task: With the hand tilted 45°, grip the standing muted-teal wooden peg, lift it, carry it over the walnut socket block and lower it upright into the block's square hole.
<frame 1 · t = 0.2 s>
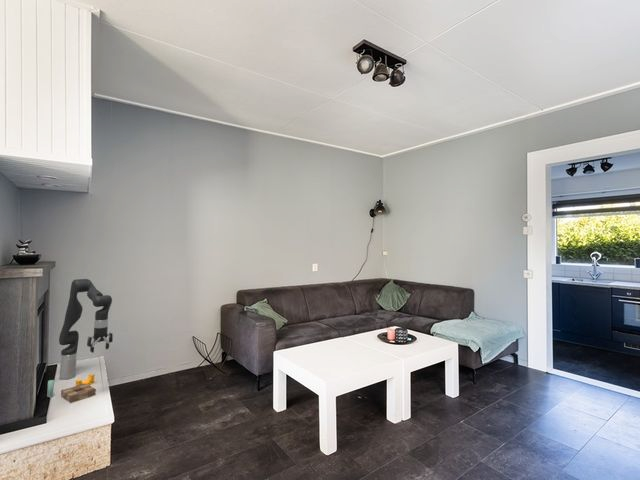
hand: (99, 350, 220), 29 cm above the table, tool pointing down, fingers open, 8 cm apart
teal peg: (50, 396, 215), on the table
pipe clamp: (83, 387, 231), on the table
walnut socket block: (78, 395, 218), on the table
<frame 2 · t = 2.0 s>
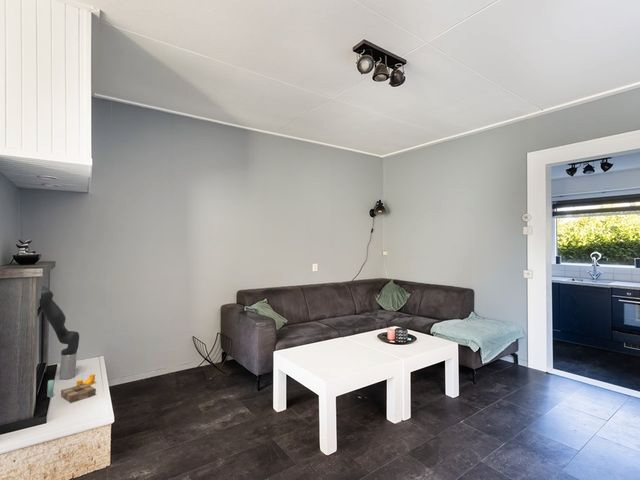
hand: (30, 362, 211), 23 cm above the table, tool tilted 45°, fingers open, 8 cm apart
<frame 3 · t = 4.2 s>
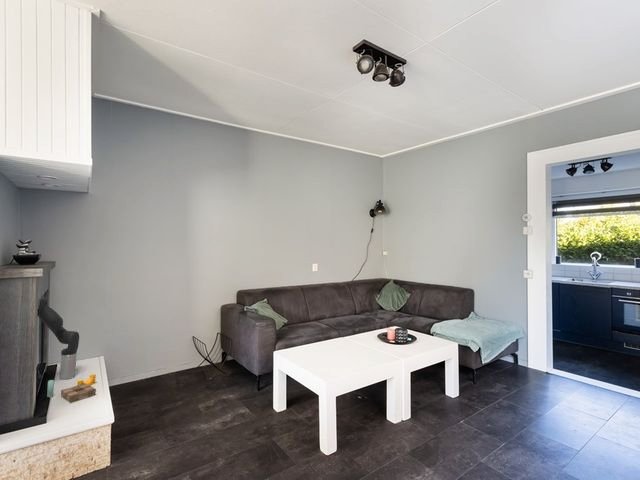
hand: (38, 380, 212), 11 cm above the table, tool tilted 45°, fingers open, 8 cm apart
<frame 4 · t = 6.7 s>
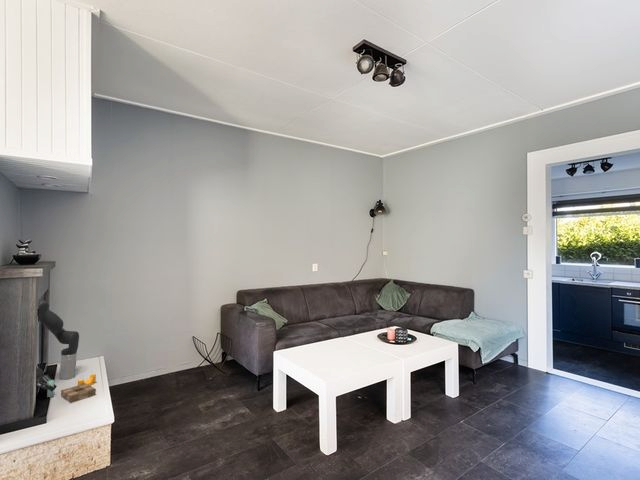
hand: (54, 389, 216), 4 cm above the table, tool tilted 45°, fingers closed on teal peg, 3 cm apart
teal peg: (50, 396, 215), on the table, touching gripper
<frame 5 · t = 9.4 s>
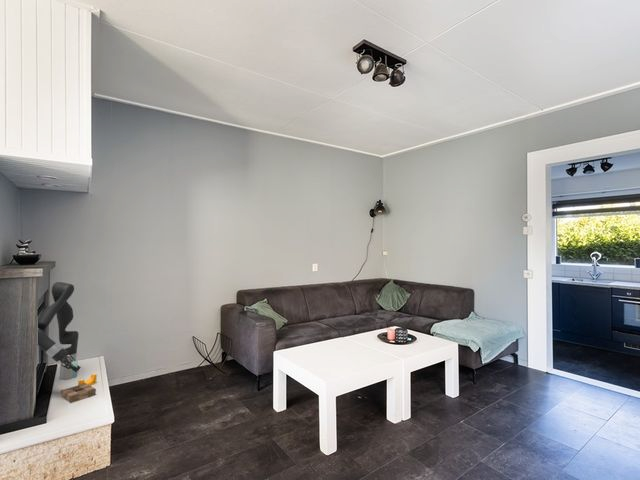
hand: (78, 369, 218), 17 cm above the table, tool tilted 45°, fingers closed on teal peg, 3 cm apart
teal peg: (74, 377, 217), point 12 cm above the table, touching gripper
when the fingers open (6 cm above the table, at t = 12.4 s): teal peg drops 2 cm, resting in walnut socket block.
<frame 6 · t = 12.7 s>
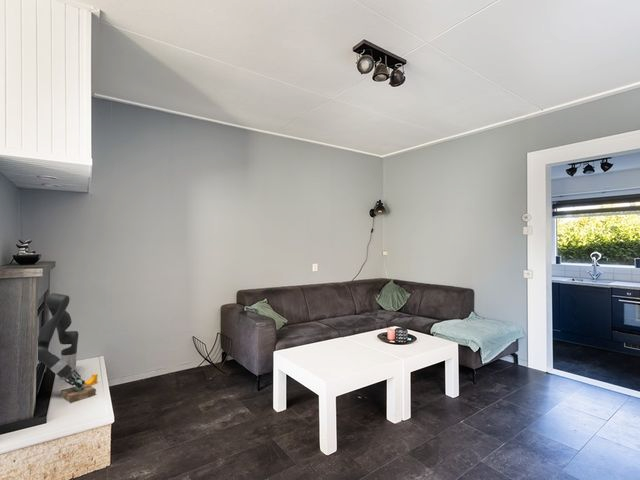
hand: (82, 385, 218), 7 cm above the table, tool tilted 45°, fingers open, 5 cm apart
teal peg: (78, 395, 218), resting in walnut socket block
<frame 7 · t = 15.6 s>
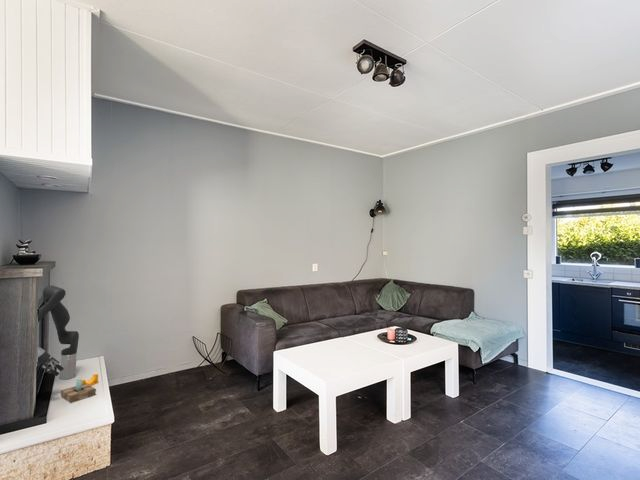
hand: (60, 372, 214), 16 cm above the table, tool tilted 45°, fingers open, 8 cm apart
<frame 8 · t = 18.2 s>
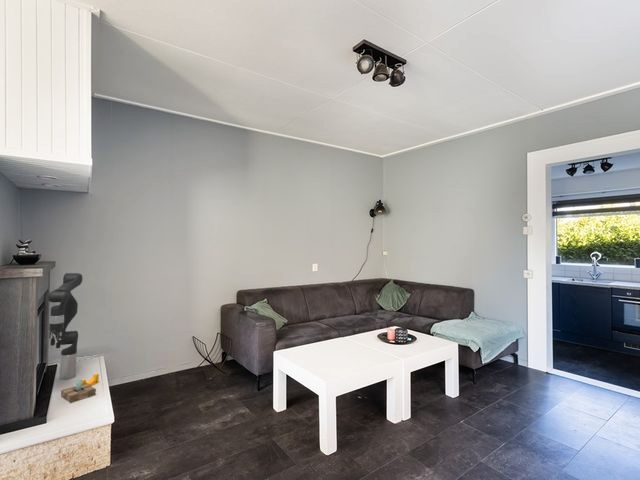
hand: (55, 346, 220), 30 cm above the table, tool pointing down, fingers open, 8 cm apart
at the end: teal peg 0.1 cm off-centre on the walnut socket block, point 0.0 cm above the walnut socket block's base; teal peg tilted 0°; the gripper is holding nothing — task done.
